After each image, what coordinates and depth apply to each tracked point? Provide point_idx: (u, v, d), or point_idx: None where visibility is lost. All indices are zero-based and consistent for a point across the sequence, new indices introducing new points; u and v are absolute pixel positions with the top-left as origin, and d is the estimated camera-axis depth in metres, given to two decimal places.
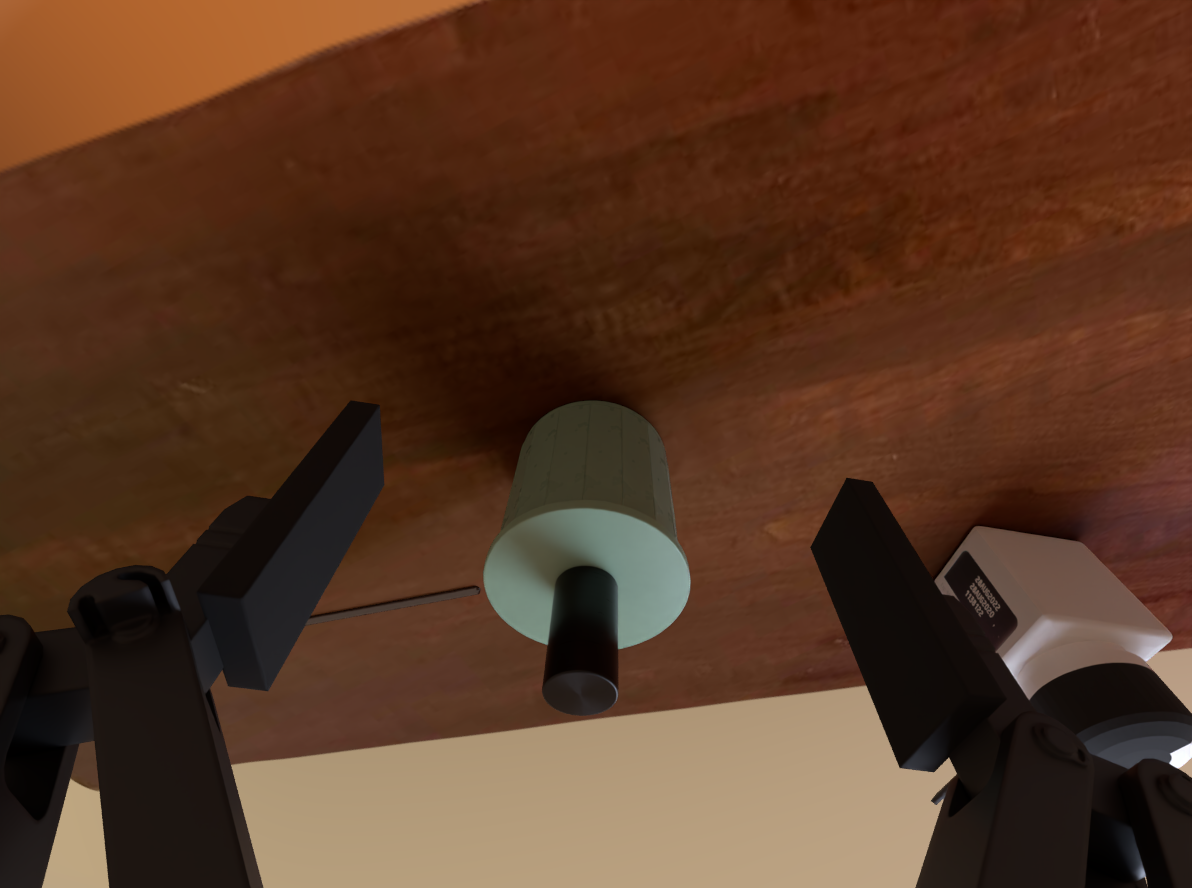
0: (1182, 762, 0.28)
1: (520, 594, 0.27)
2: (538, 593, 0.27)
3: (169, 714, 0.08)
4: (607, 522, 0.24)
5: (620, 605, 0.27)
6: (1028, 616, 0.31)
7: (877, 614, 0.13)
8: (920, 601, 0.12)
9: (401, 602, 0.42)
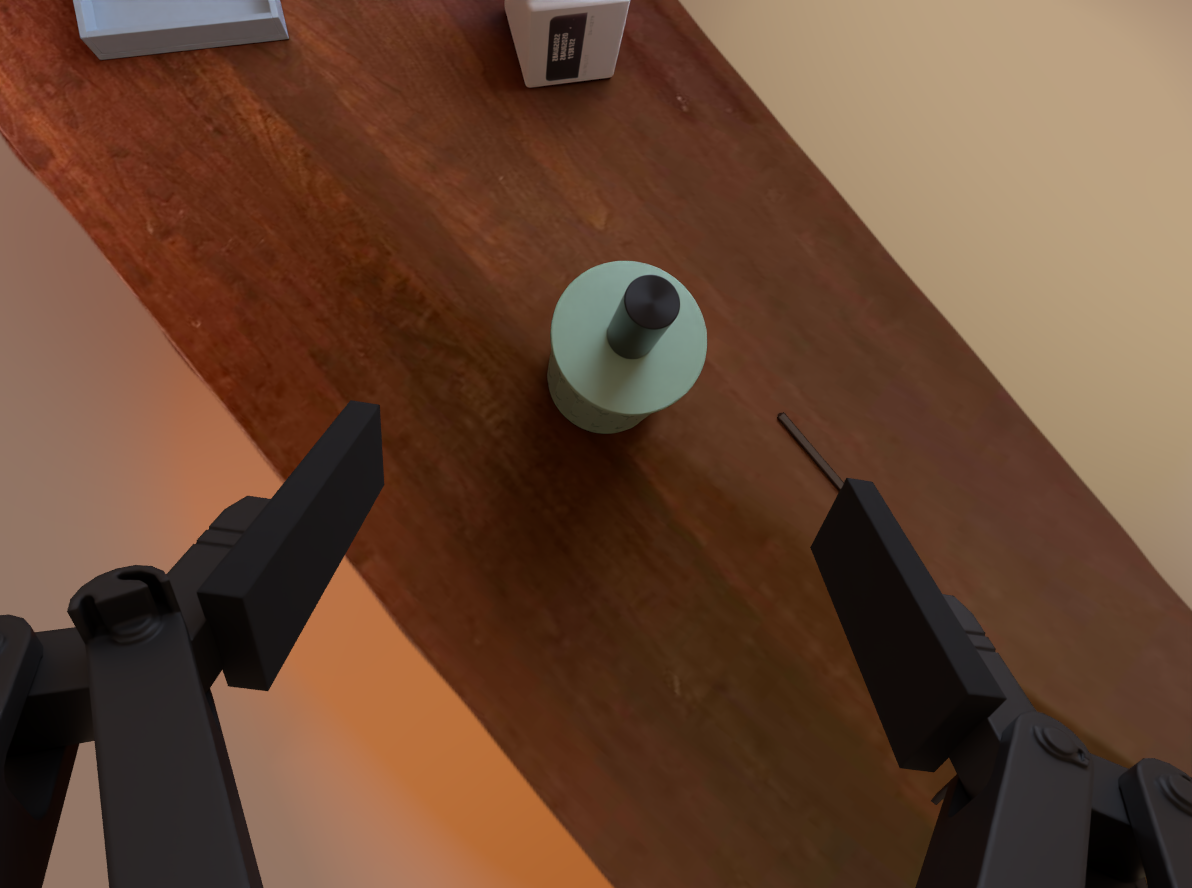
0: None
1: (660, 379, 0.34)
2: (653, 366, 0.34)
3: (169, 714, 0.08)
4: (563, 346, 0.34)
5: None
6: (540, 17, 0.40)
7: (877, 614, 0.13)
8: (920, 601, 0.12)
9: (827, 474, 0.46)
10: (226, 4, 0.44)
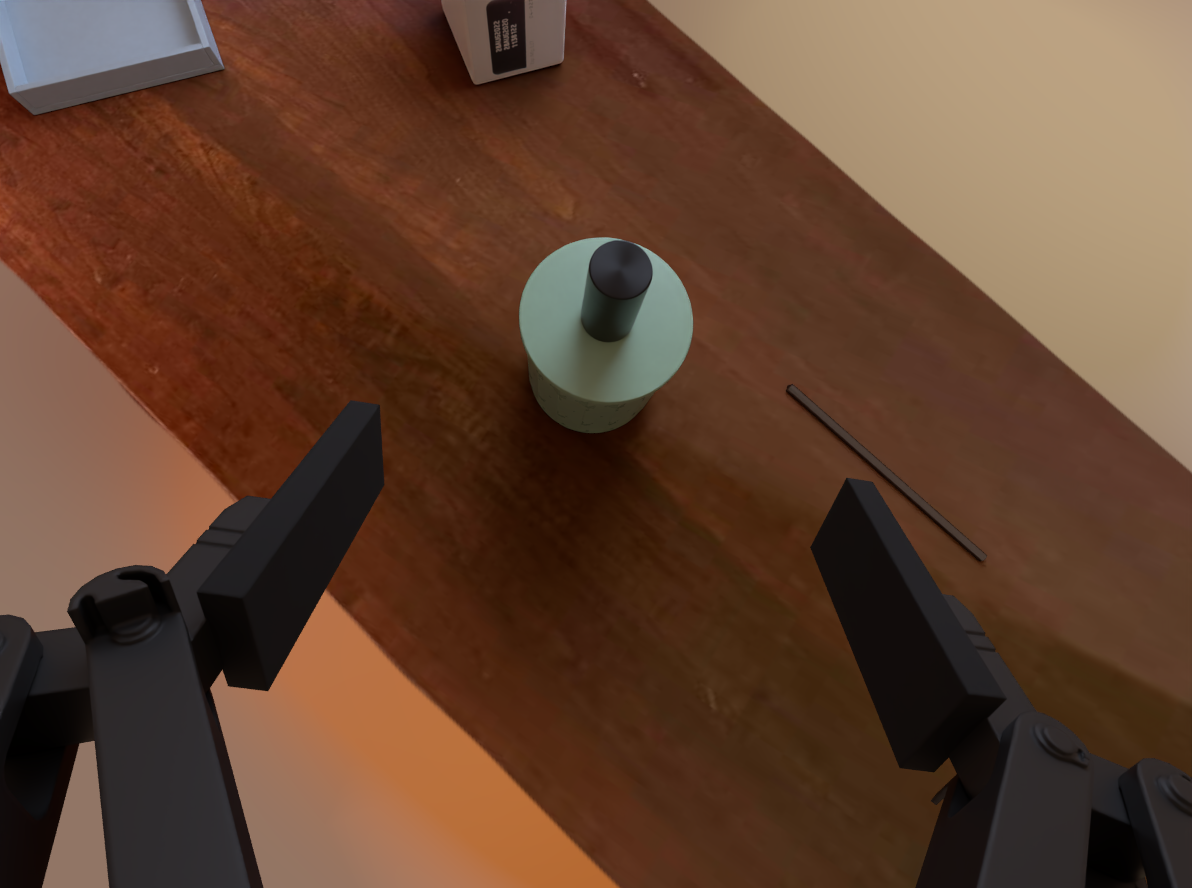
0: None
1: (646, 359, 0.31)
2: (636, 347, 0.31)
3: (169, 714, 0.08)
4: (534, 337, 0.31)
5: None
6: (475, 3, 0.38)
7: (877, 614, 0.13)
8: (920, 601, 0.12)
9: (850, 444, 0.42)
10: (157, 42, 0.42)
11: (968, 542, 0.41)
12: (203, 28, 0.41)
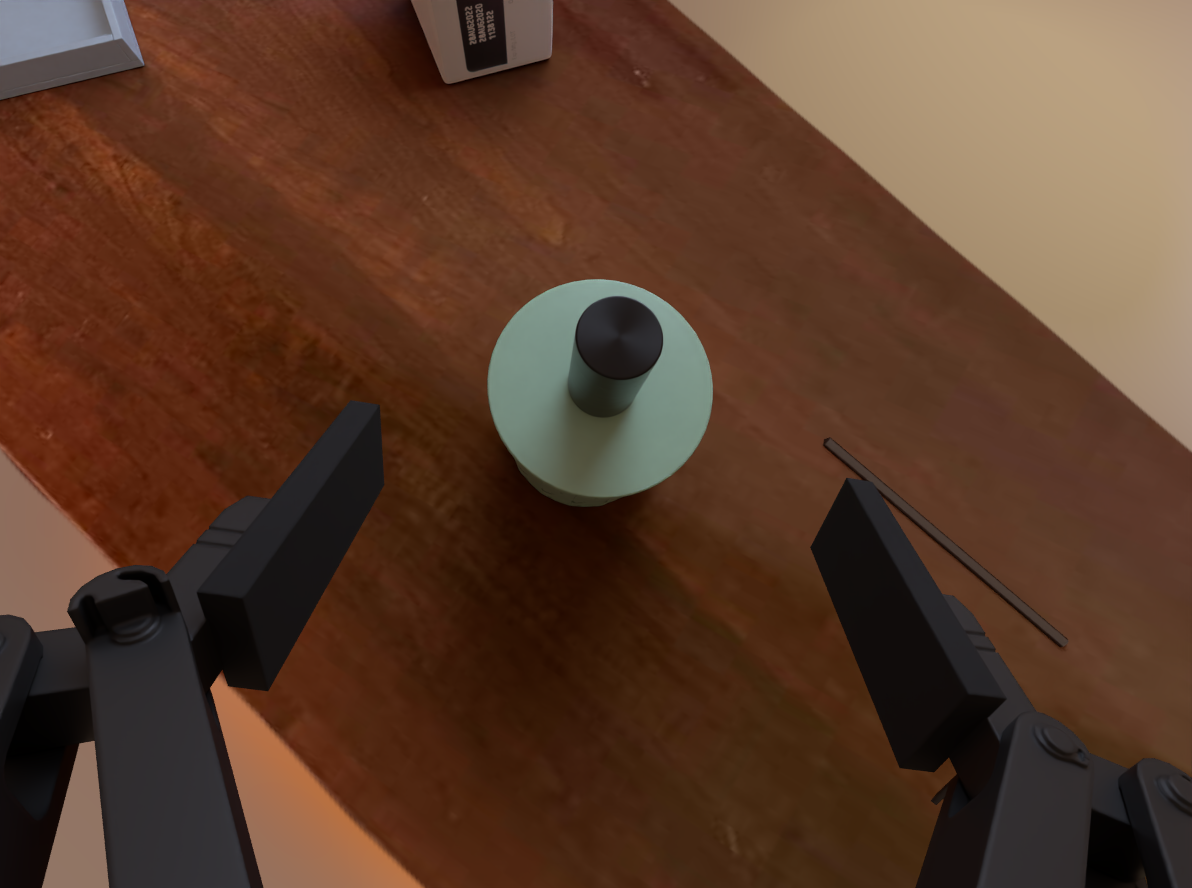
0: None
1: (652, 440, 0.24)
2: (639, 423, 0.24)
3: (169, 714, 0.08)
4: (507, 412, 0.24)
5: None
6: None
7: (877, 614, 0.13)
8: (920, 601, 0.12)
9: (901, 508, 0.35)
10: (62, 33, 0.35)
11: (1046, 624, 0.34)
12: (115, 16, 0.34)
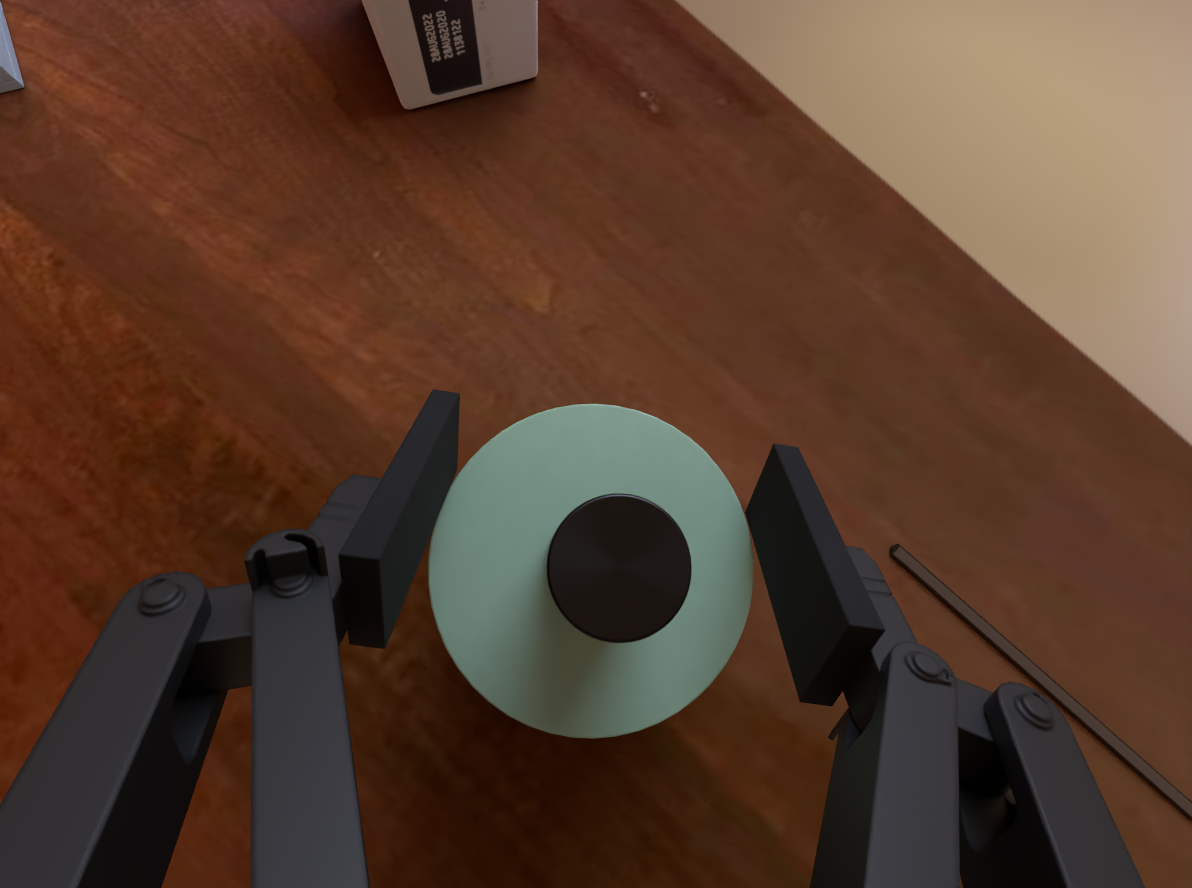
0: None
1: (667, 645, 0.17)
2: None
3: (311, 666, 0.09)
4: (456, 609, 0.16)
5: (601, 494, 0.17)
6: None
7: (789, 566, 0.14)
8: (821, 548, 0.13)
9: (989, 638, 0.28)
10: None
11: (1175, 793, 0.27)
12: None
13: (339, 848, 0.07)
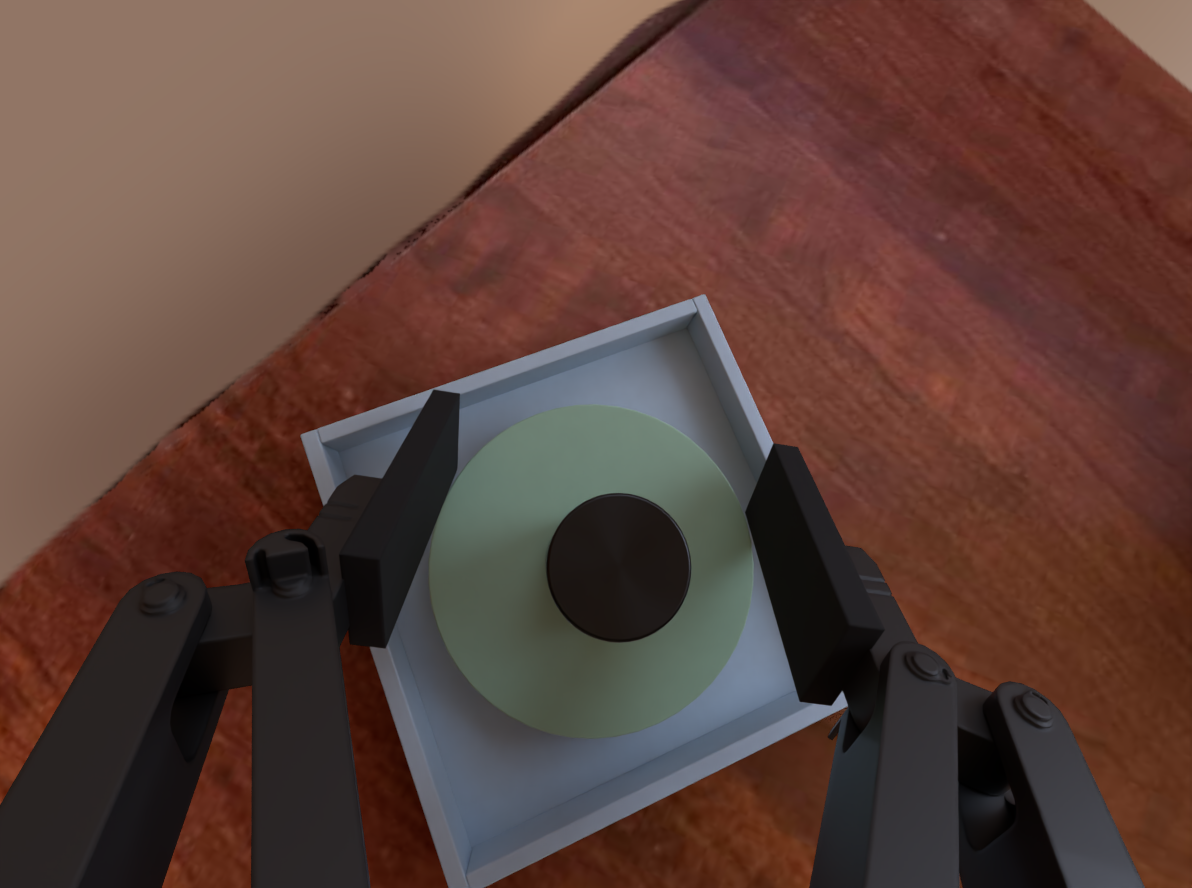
0: None
1: (667, 646, 0.17)
2: None
3: (311, 666, 0.09)
4: (456, 609, 0.16)
5: (601, 494, 0.17)
6: None
7: (789, 565, 0.14)
8: (821, 548, 0.13)
9: None
10: None
11: None
12: None
13: (339, 848, 0.07)
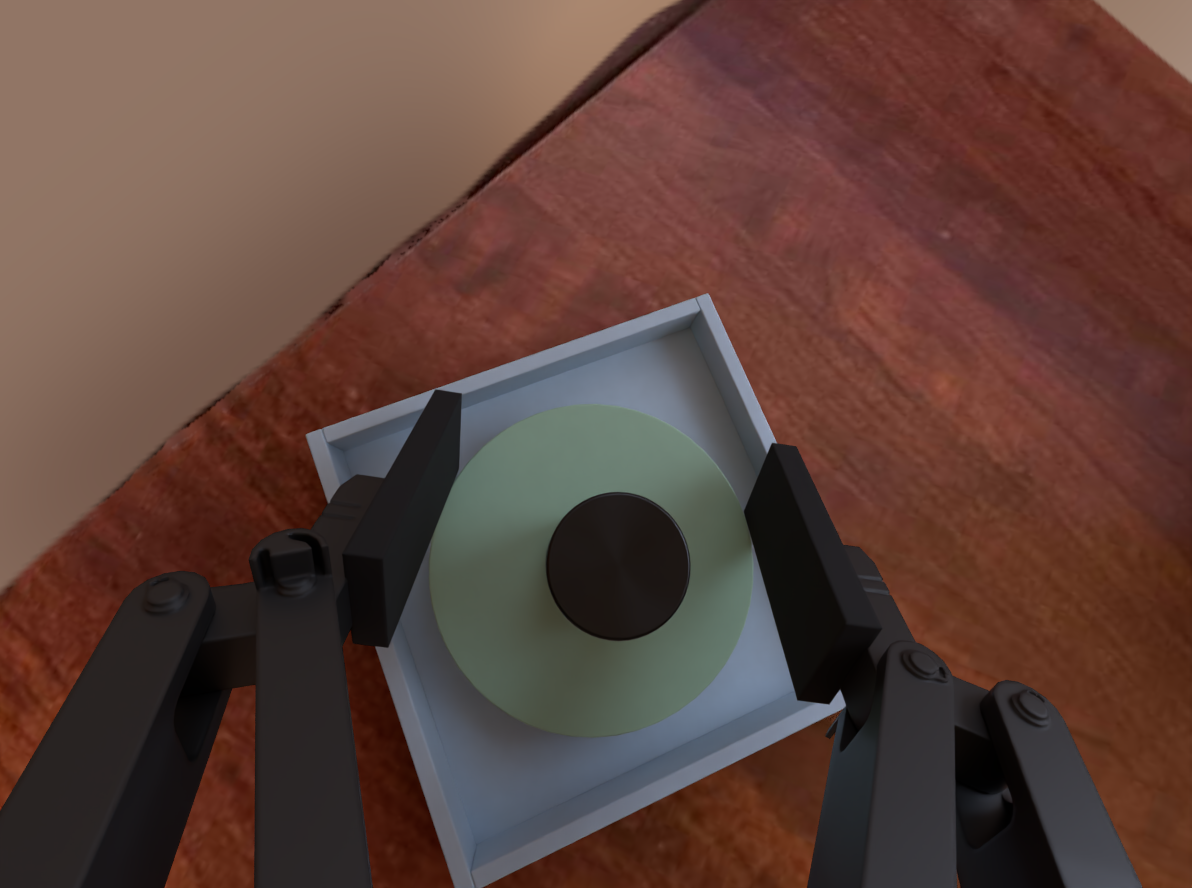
0: None
1: (667, 645, 0.17)
2: None
3: (314, 665, 0.09)
4: (457, 608, 0.16)
5: (600, 493, 0.17)
6: None
7: (787, 564, 0.14)
8: (819, 547, 0.13)
9: None
10: None
11: None
12: None
13: (342, 847, 0.07)
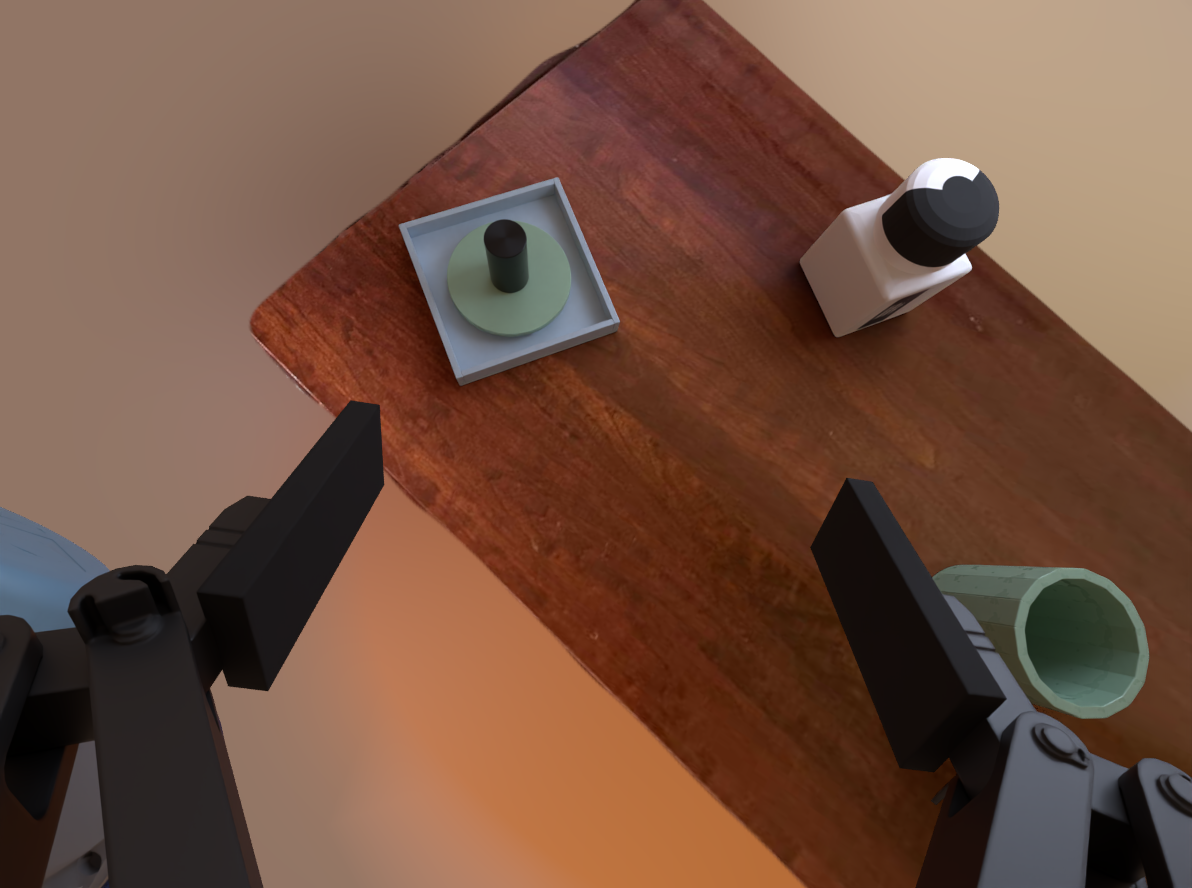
0: (940, 169, 0.37)
1: (536, 305, 0.44)
2: (529, 296, 0.44)
3: (169, 714, 0.08)
4: (457, 289, 0.44)
5: None
6: (891, 301, 0.42)
7: (877, 614, 0.13)
8: (920, 601, 0.12)
9: None
10: None
11: None
12: (611, 303, 0.45)
13: None
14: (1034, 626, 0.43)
